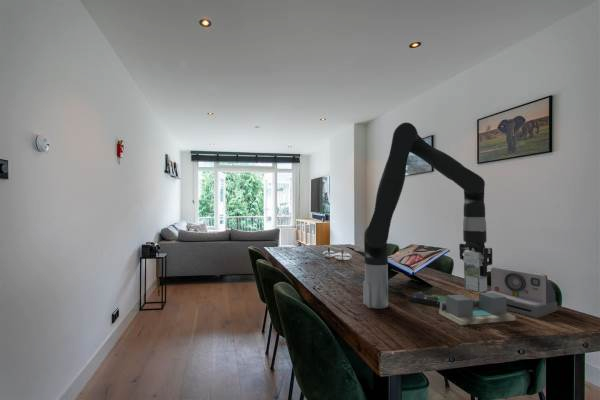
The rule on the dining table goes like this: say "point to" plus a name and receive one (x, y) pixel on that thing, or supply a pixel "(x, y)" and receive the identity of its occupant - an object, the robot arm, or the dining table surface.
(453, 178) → the robot arm
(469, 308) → the board
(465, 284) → the syrup box
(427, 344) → the dining table surface
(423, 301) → the disk drive
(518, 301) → the instant camera
